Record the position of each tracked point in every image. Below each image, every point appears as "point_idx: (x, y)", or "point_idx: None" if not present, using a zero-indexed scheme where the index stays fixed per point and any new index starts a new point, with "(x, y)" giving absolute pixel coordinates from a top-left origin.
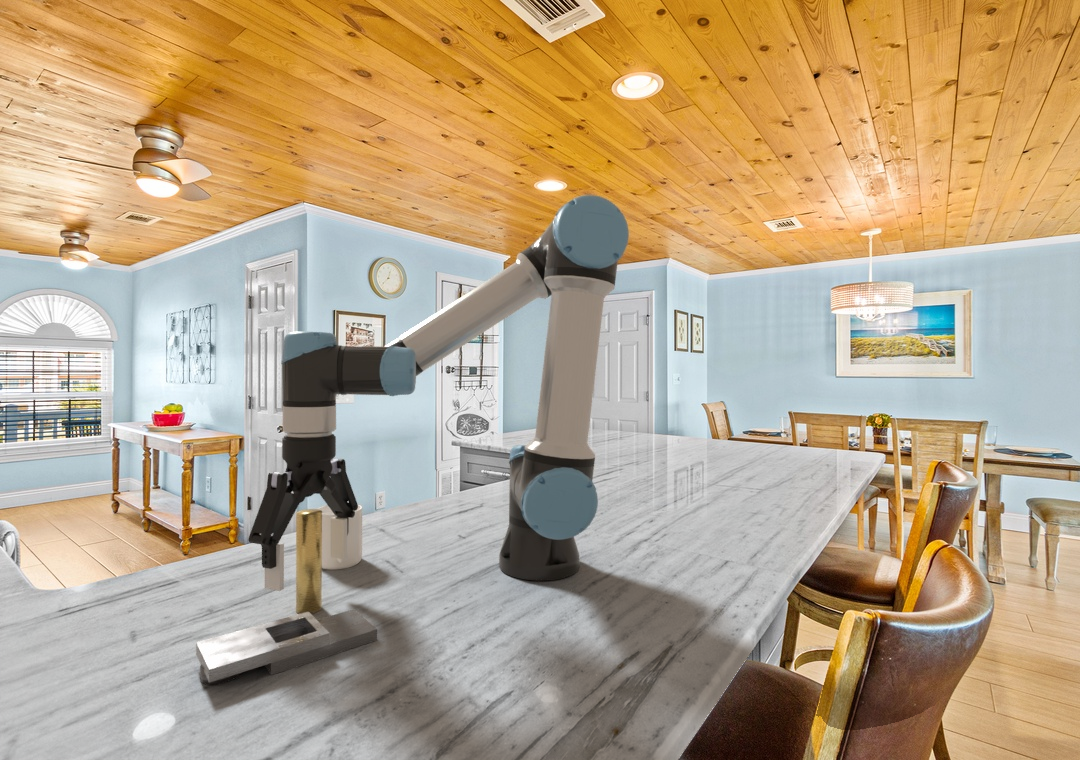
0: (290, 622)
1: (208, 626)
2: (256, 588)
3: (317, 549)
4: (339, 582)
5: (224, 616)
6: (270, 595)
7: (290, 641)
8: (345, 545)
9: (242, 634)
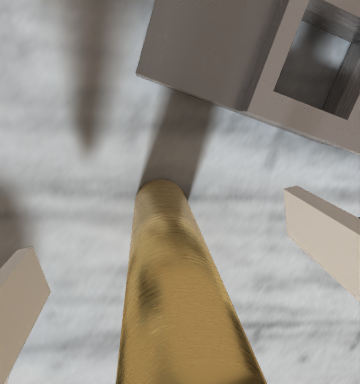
0: (300, 102)
1: (296, 283)
2: None
3: (169, 241)
4: None
5: (261, 298)
6: None
7: None
8: (5, 272)
9: None
